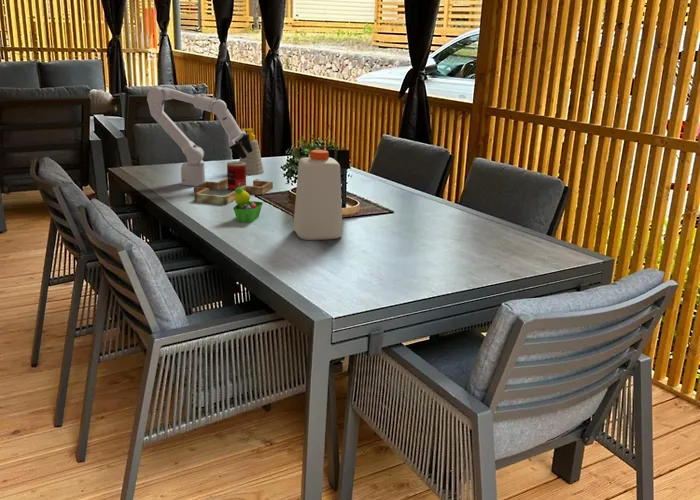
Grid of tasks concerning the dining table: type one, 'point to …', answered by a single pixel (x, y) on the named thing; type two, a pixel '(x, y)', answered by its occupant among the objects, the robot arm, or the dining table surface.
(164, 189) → the dining table surface
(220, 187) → the trap channel
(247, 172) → the soap bottle
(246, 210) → the fruit basket
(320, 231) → the plastic bottle
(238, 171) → the canned food
